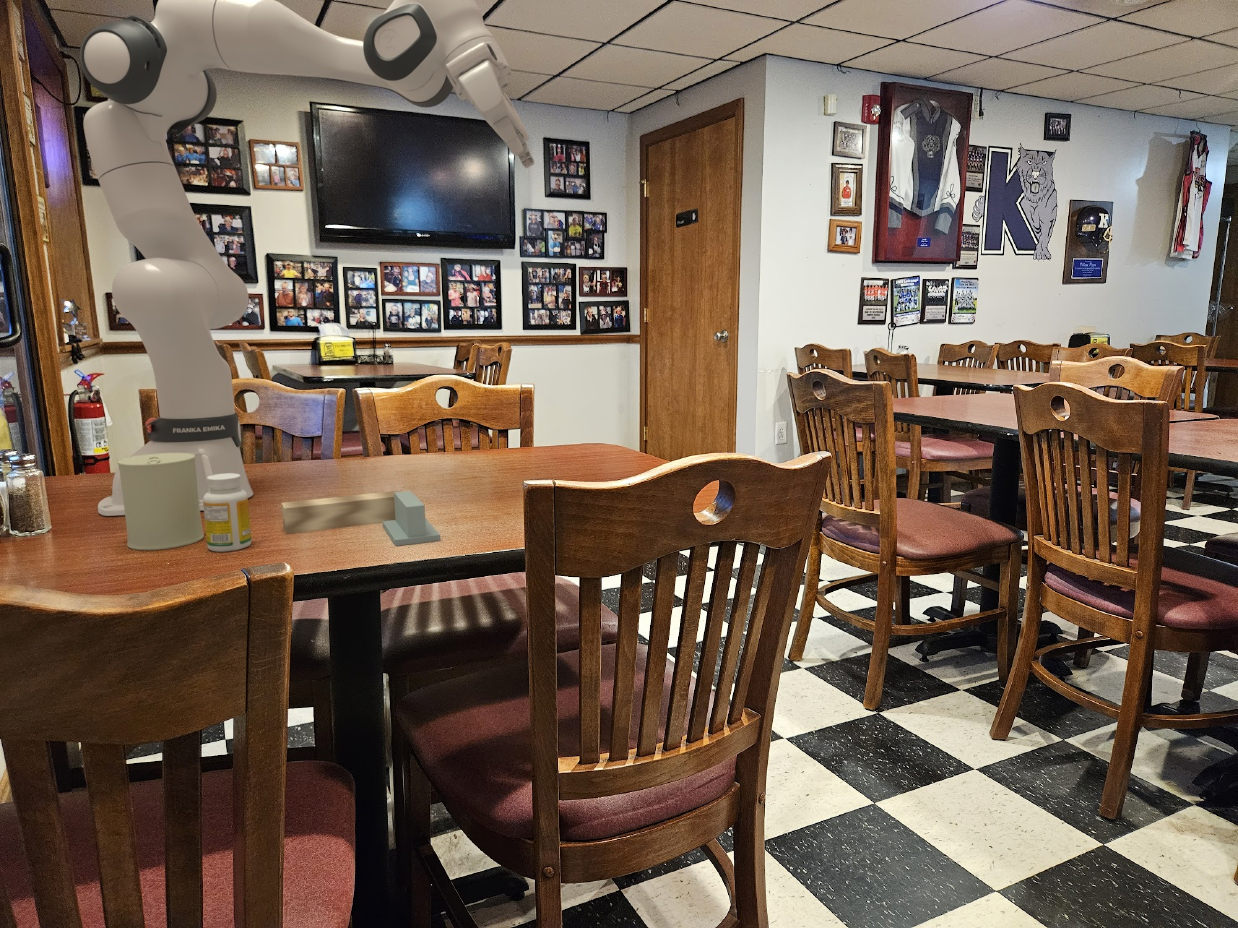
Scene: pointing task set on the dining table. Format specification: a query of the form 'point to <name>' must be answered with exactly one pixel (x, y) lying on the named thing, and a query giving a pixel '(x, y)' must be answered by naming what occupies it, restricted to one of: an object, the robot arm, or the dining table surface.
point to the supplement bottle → (226, 513)
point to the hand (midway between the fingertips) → (524, 159)
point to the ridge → (409, 521)
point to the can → (160, 500)
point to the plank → (338, 512)
